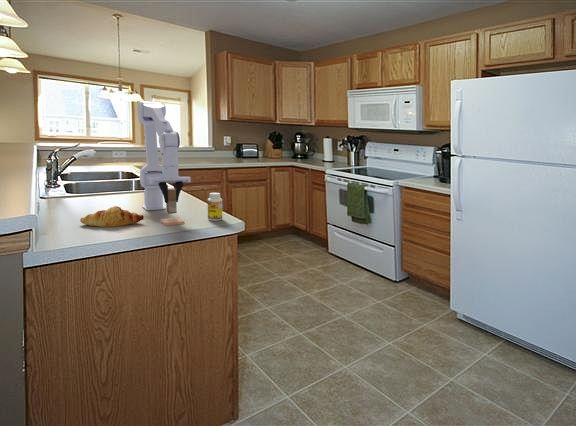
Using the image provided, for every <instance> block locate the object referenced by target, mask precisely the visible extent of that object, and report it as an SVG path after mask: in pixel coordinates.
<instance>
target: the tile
mask: <svg viewBox="0 0 576 426" xmlns="http://www.w3.org/2000/svg"><path fill="white" fill-rule="evenodd" d="M159 221H160V223H161V224H163V225H164V226H165V227H166V226H174V225H184V224H185V220H183V219H182V218H181V217H178V216H177V217H168V218H160V220H159Z"/></svg>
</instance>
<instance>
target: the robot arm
mask: <svg viewBox="0 0 576 426" xmlns="http://www.w3.org/2000/svg"><path fill="white" fill-rule="evenodd" d="M166 115H167V109H166V104H165V103H164V102H162V101H161V102H156V101H141V100H140V101H139V102H138V103H137V116H138V117H137V118H138V122H139V123H140V124H142V125H143V130H144V143H145V145H144V146H145V158H146V164H145V165H144V166H143V167H141V169H140V171H139V173H140V175H139V183H140V186H141V187H142V188H144V190H143V191H144V192H143V199H144V204H143V205H142V207H141V208H143V209H144V210H146V211H158V210H166V207H165V206H164V203H165V204H166V203H168V188H169V185H168V184H173V188H174V189H176V203H178V202H179V198H180V194H181V191H182V189H183V188H184V183H191V182H192V181H191V180H192V179H191V176H179V148H180V146H181V137H180V134H179V132H178V131H174V129H173V127H172V126H171V125H172V124H171V123H170V122H169V121H168V120H166V117H165V116H166ZM157 136H158V137H157ZM158 144H159V151H160V153H161V165H160V164H159V153H158V152H159V151H158Z"/></svg>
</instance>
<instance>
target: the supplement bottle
mask: <svg viewBox="0 0 576 426" xmlns="http://www.w3.org/2000/svg"><path fill="white" fill-rule="evenodd" d="M222 219H223V198H221V193H220V192H210V193H209V197H208V198H207V220H208V221H212V222H214V221H215V222H216V221H217V222H219V221H222Z"/></svg>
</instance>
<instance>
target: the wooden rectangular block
mask: <svg viewBox="0 0 576 426" xmlns="http://www.w3.org/2000/svg"><path fill="white" fill-rule="evenodd" d="M165 205H166V207H165V208H166V209H165V211H166V213H167V214H168V215H170V214H172V215H173V214H177V213H178V211H177V210H178V209H177V202H176V189H174V187H172V188H171V187H170V188H169V187H168V203H165Z"/></svg>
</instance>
